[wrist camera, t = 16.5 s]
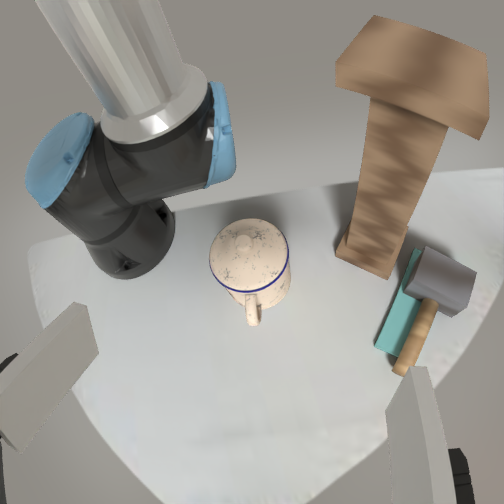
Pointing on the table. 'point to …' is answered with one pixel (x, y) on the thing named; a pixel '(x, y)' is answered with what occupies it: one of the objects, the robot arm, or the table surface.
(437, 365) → the table surface
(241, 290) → the teacup with lid
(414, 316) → the mat
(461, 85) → the stand
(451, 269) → the mallet
